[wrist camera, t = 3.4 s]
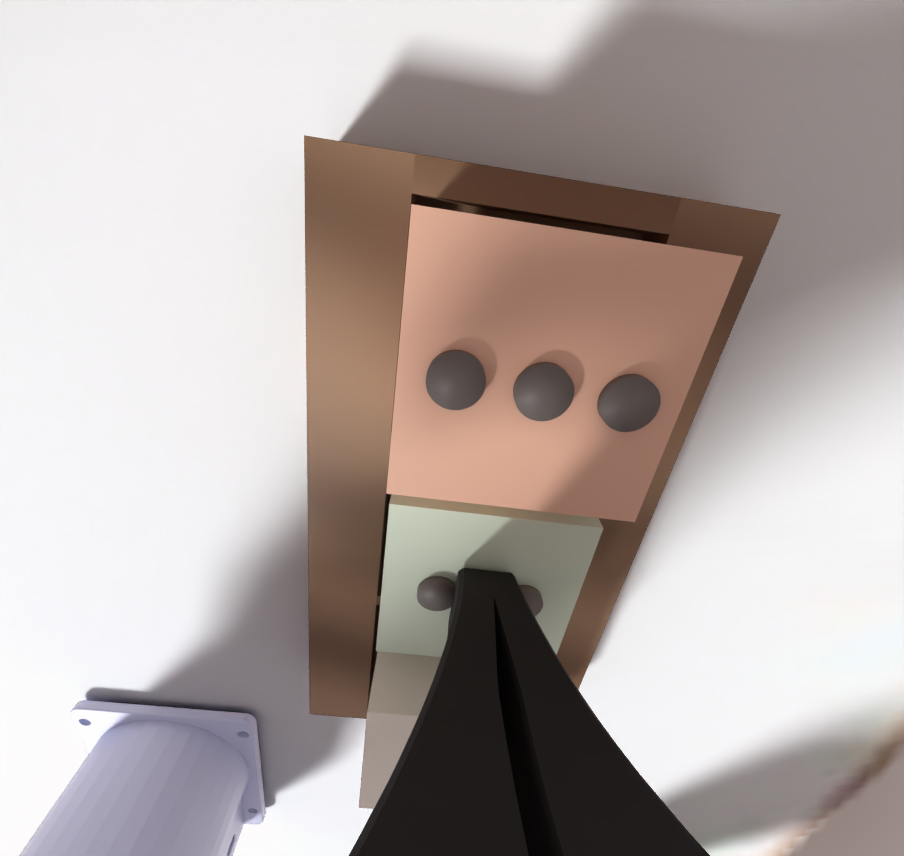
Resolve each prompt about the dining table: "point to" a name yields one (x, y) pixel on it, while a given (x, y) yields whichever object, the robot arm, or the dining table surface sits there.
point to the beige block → (392, 716)
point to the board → (376, 357)
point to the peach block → (544, 362)
